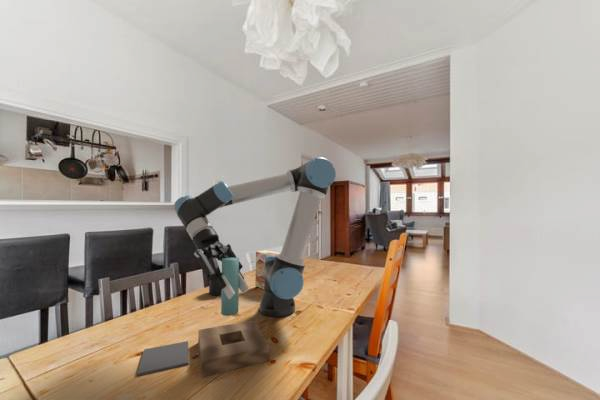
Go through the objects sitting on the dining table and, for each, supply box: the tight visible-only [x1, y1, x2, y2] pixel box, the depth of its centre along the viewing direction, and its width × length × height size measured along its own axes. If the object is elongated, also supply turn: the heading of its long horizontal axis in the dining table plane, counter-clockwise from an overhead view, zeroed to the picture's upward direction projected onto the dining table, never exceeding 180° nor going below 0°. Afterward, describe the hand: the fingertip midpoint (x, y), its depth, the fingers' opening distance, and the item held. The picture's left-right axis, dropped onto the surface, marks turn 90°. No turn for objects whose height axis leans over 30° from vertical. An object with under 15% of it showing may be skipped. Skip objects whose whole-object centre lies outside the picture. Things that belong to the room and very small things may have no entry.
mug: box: [208, 272, 222, 297], centre depth 126 cm, size 9×12×9 cm
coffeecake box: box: [255, 249, 281, 290], centre depth 135 cm, size 15×7×20 cm, turn 50°
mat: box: [136, 340, 189, 377], centre depth 72 cm, size 12×12×1 cm
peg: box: [220, 257, 240, 317], centre depth 76 cm, size 5×5×16 cm
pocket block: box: [197, 319, 271, 378], centre depth 76 cm, size 18×18×4 cm
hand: (239, 293), depth 74 cm, fingers closed on peg, 5 cm apart
